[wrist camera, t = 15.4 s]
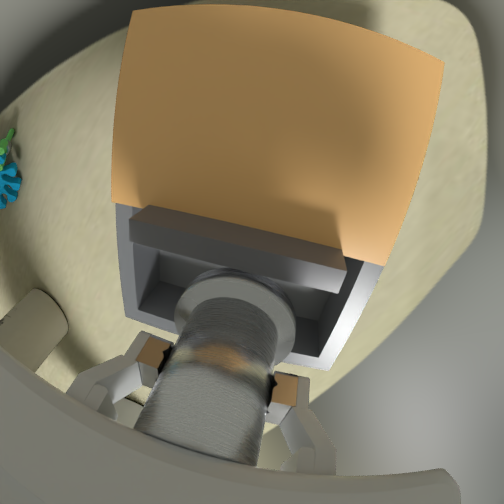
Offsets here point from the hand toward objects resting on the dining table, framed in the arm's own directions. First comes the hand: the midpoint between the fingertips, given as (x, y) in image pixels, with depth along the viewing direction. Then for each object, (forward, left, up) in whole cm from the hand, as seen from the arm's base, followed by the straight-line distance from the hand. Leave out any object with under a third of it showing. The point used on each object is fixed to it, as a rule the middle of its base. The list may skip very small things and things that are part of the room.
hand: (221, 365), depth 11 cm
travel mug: (-17, +27, -11) cm, 34 cm away
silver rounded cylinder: (0, 0, -3) cm, 3 cm away
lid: (+9, +1, -6) cm, 11 cm away
